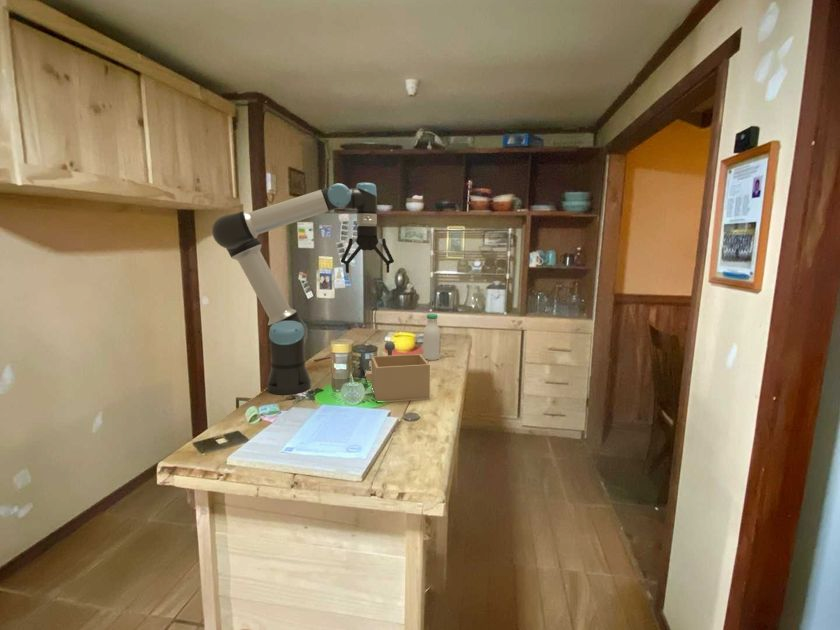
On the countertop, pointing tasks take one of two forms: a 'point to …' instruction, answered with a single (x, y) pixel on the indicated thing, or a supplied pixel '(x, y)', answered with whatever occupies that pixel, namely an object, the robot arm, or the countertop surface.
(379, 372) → the carton
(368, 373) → the carton lid
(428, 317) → the milk bottle
